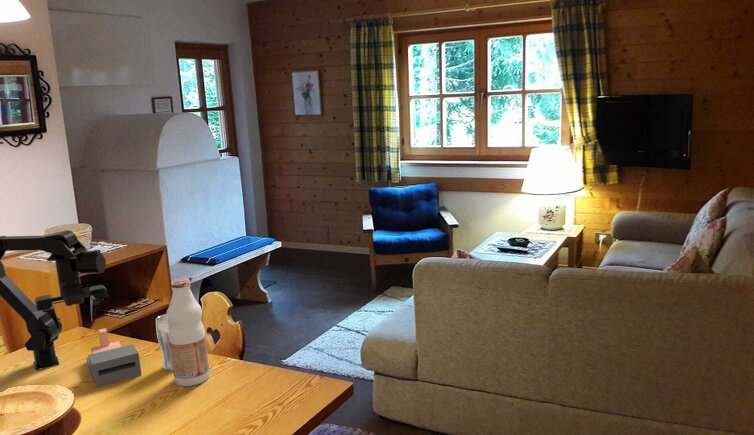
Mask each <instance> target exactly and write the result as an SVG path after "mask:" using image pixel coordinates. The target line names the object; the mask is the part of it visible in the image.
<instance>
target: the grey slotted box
mask: <svg viewBox="0 0 754 435" xmlns="http://www.w3.org/2000/svg"><path fill="white" fill-rule="evenodd" d="M87 356H88V357H86V358H85V359H86V360H85V361H86V366H87V369H88V372H89V374H90V377H91V380H92V381H93V384H94V387H95V388H100V387H102V386H103V387H104V386H106V385H107V386H108V385H111V384H114V383H117V382H121V381H125V380H126V381H127V380H129V379H132V378H133V379H134V378H136V377H140V376H142V367H141V362H140V354H139V352H138V350H137V349H136V347H135V344H133V343H131V344H127V345H124V346H122V347H119V348H115V349H111V350H107V351H103V352H98V353H94V354H93V353H90V354H88V355H87Z"/></svg>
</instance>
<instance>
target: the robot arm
mask: <svg viewBox="0 0 754 435" xmlns="http://www.w3.org/2000/svg"><path fill="white" fill-rule="evenodd" d="M11 251H12V252H13V251H14V252H15V251H16V252H17V251H19V252H20V251H43V252H45V253H48V254H50V255H49V257H48V258H47V259H46V261H47V262H54V263H55V269H56V276H57V277H56V278H57V282H58V288H59V293H60V295H59V296H53V297H51V295H50V294H46V295H40V296H36V297H35V298H34V302H33V301H32V300H31V299H30V298H29V297H28V296H27V295H26V294H25V293H24V291H23V290H21V288H19V287H18V286H17V284H16V283H14V281H13V280H12V279H11V278H10V277H9V276H8V275H7V274H6V270H5V265H4V264H3V262H2V261H1V260H2V259H3V258H4V257H5V254H6V252H11ZM106 266H107V261H106V258H105V256H104V254H102V253H101V249H93V250H88V249H87V247H86V246H85V245H84V244H83V243H82V242H81V241H80V240H79V239H78V237H77V235H76V233H74V232H73V231H72V230H67V229H66V230H62V231H57V232H52V233H49V234H44V235H11V236H10V235H9V236H6V235H0V297H1V298H2V299H3V300H4V301H5V302H6V304H8V305H9V306H10V307H11V309H13V310H14V311H15V313H17V314H18V316H19V317H20V318H21V319H23V321H24V323H25V326H26V329H27V333H28V334H29V335H30V338H28V340H26V342H25V343H24V347H25V348H26V350H27V351H28V352H29V351H31V352H32V353H33V358H34V359H33V360H34V361H33V367H34V371H37V370H42V369H45V368H50V367H55V366H58V365H60V360H59V358H58V356H57V354H56V349H55V341H57V340H59V335H60V333H62V329H63V323H62V322H61V321H60V320H61V318H60V317H58V316H57V313H56V309H55V307H54V305H56V304H61V303H64V305H65V306H67V307H70V306H71V307H72V306H73V305H81V304H84V302H85V298H89V300H90V304H89V305H90V318H91V322H92V323H93V322H94V321H95V319H96V318H95V317H96V313H97V308H98V306H99V304H100V303H101V302H103V301H104V299H107V298H108V297H109V294H108V290H107V288H106V286H105V285H103V284H99V285H94V286H90V285H89V284H83V285H82V283H81V278H80V277H81V276H80V274H81V275H91V274H92V275H93V274H103V273H104V272H105V270H106Z"/></svg>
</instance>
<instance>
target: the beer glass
mask: <svg viewBox="0 0 754 435" xmlns="http://www.w3.org/2000/svg"><path fill="white" fill-rule="evenodd" d="M169 328H170V325H169V322H168V320H167V313H165V314H162V315H159V316H157V317H156V318H155V330H156V337H157V340H158V344H159V347H160V351H161V354H162V359H163V361H162V369H163V371H166V372H167V371H168V372H171V371H172V372H173V366H172V358H171V350H170V343H169Z"/></svg>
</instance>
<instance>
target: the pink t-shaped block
mask: <svg viewBox="0 0 754 435" xmlns="http://www.w3.org/2000/svg"><path fill="white" fill-rule="evenodd" d="M98 336H99V342H100V345H99V346H94V347H90V351H91V354H94V353H98V352H103V351H107V350H111V349H115V348H119V347H123V346H122V343H120V341H115V342H110V343H109V335H108V330H107V328H101V329H98Z"/></svg>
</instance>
